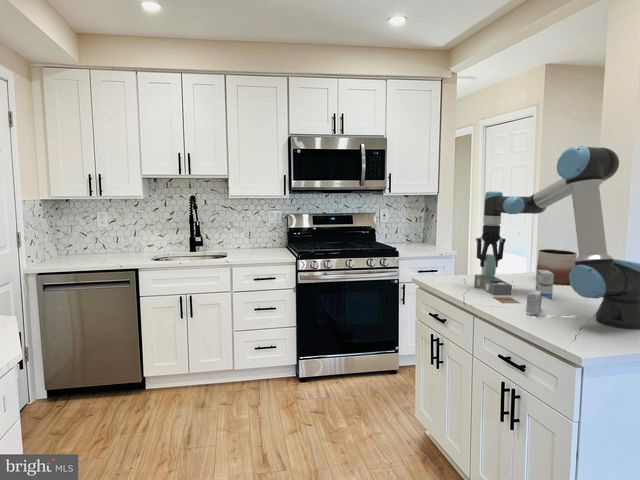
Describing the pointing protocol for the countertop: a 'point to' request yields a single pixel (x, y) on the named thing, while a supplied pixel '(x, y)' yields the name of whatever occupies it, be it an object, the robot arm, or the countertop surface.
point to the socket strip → (493, 285)
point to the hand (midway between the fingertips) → (488, 273)
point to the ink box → (545, 283)
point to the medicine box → (534, 302)
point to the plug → (489, 267)
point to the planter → (557, 264)
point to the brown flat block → (506, 300)
